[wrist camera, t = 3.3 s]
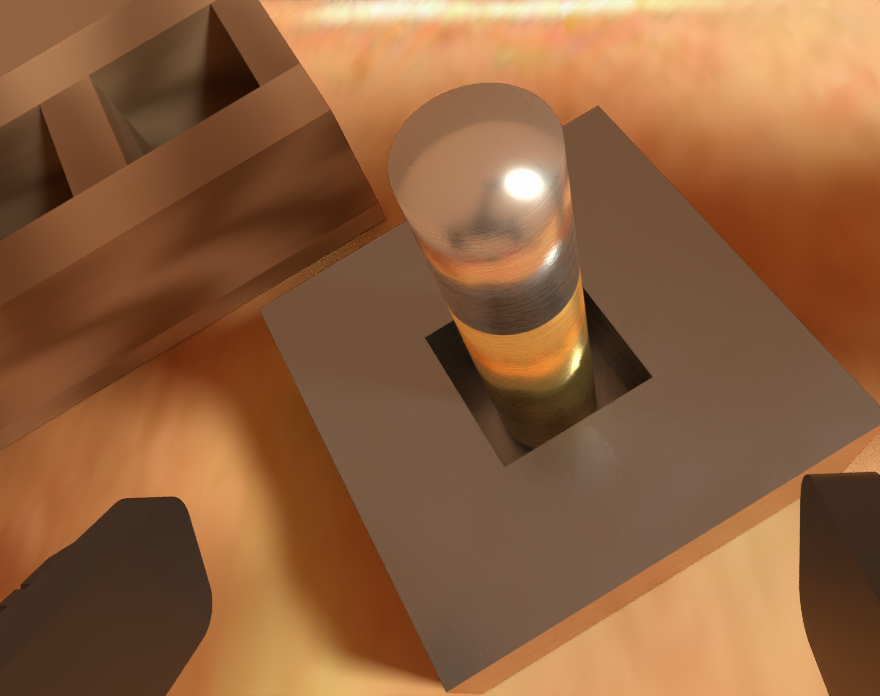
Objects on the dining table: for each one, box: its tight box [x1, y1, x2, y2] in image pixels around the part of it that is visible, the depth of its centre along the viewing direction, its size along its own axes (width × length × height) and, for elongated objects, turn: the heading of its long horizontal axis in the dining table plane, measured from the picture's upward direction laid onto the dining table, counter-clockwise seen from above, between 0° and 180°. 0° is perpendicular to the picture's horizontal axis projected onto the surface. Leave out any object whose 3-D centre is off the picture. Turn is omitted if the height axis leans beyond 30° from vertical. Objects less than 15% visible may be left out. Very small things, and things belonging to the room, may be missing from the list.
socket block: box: [259, 106, 880, 695], centre depth 22 cm, size 12×12×4 cm
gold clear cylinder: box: [388, 83, 597, 448], centre depth 18 cm, size 3×3×12 cm
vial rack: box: [0, 0, 386, 450], centre depth 28 cm, size 22×10×6 cm, turn 119°
